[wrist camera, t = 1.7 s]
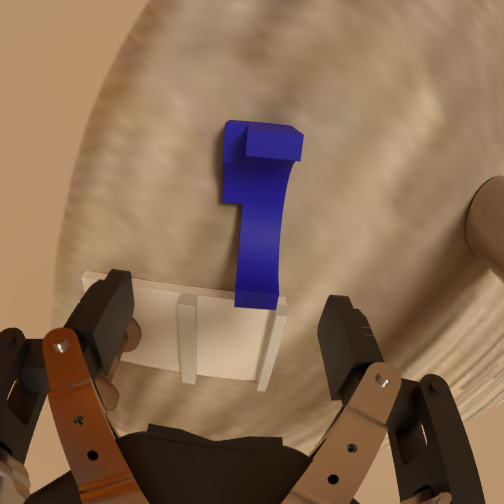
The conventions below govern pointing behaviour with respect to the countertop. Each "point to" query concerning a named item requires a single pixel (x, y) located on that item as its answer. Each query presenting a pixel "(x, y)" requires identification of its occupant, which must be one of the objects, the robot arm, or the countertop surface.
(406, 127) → the countertop surface
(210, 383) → the countertop surface
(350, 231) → the countertop surface
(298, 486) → the robot arm
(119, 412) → the countertop surface
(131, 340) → the walnut knob
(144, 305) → the ridged board
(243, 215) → the cable clip
